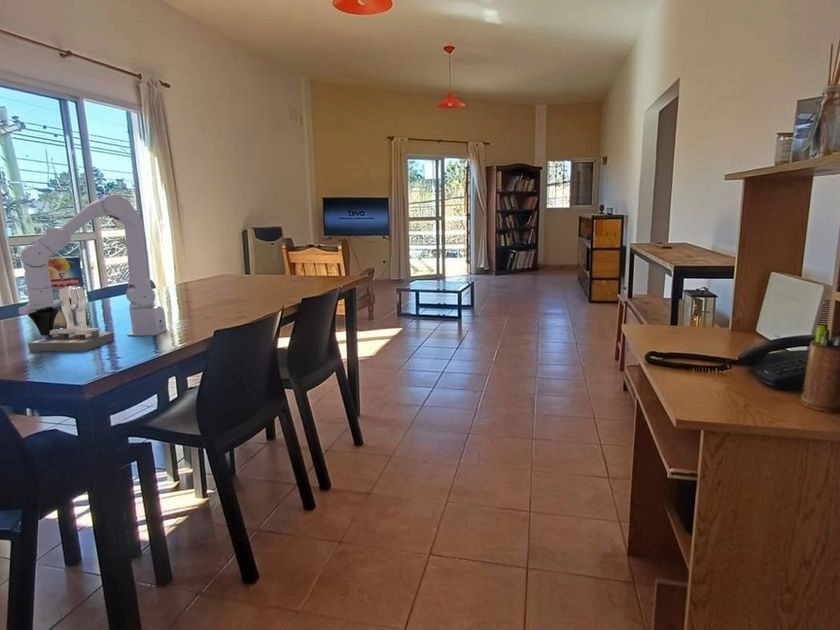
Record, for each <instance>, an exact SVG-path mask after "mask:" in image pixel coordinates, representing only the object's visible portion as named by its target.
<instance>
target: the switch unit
mask: <svg viewBox="0 0 840 630" xmlns="http://www.w3.org/2000/svg"><path fill="white" fill-rule="evenodd" d="M112 341H115V334H114V331H104V332H103V331H102V332H101V331H100V332H99V331H98V330H94V331H91V334H81V335H75V334H63V333H58V334H49V335H44V338H40V339H37V340H35V341H31V342H29V343H27V344H28V351H29V352H30V353H34V352H35V353H41V352H40V351H63V352H88V351H90V350H92V348H93V349H95V348H97V346H98V347H100V346H103V345H104V344H107V343H110V342H112ZM102 344H103V345H102ZM99 345H100V346H99Z"/></svg>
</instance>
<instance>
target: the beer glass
mask: <svg viewBox="0 0 840 630" xmlns="http://www.w3.org/2000/svg"><path fill="white" fill-rule="evenodd" d="M84 291H85V289H84V290H83V287H82V286H71V287H63V288H59V299H63V301H64V306H61V308H62V311H63V314H64V316H65V319H66V323H67V328H66V329H77V330H81V329H89V327H88V326H87V324H86V319H85V316H86V305H87V299H86V300H85V298H86V293H85V294H84Z"/></svg>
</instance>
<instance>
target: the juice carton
mask: <svg viewBox="0 0 840 630" xmlns="http://www.w3.org/2000/svg"><path fill="white" fill-rule="evenodd" d="M47 265H48V271H49V273H50V279H51V286H52V293H53V300H56V299H59V288H63V287H71V286H82V287H83V290H84V294H85V295H86V293H85V286H84V280H83V273H82V267H81V266H82V265H81V258H80V255H65V256H64V255H63V256H49V261H48V263H47ZM85 300H86V301H87V299H86V297H85ZM53 309H58V313H57V315H56V317H55V320H54V324H53V329H60V328H65V329H67V323H66V319H65V316H64V314H63V311H62V308H61V306H58V307H54V308H53ZM85 319H86V324H87V327H88V325H90V319H89V313H88V306H87V304H86V316H85ZM90 326H91V325H90Z"/></svg>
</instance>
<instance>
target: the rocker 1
mask: <svg viewBox="0 0 840 630" xmlns="http://www.w3.org/2000/svg"><path fill="white" fill-rule="evenodd" d="M50 334H53V335H55V334H58V329H53V330H50Z"/></svg>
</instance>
